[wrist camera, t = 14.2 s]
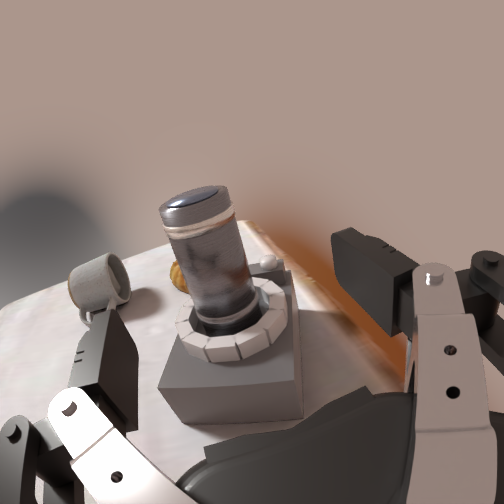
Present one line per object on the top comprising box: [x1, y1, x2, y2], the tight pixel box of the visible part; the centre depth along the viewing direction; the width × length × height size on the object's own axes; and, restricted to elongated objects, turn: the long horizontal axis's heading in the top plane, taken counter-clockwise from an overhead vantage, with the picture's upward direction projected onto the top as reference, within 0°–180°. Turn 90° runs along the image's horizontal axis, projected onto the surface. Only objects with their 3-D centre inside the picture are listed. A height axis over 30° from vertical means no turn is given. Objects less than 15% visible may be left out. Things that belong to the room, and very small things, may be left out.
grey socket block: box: [157, 255, 303, 424], centre depth 27 cm, size 10×14×7 cm
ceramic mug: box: [68, 252, 131, 328], centre depth 42 cm, size 11×8×8 cm
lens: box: [159, 186, 263, 337], centre depth 24 cm, size 5×5×11 cm
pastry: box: [170, 260, 190, 294], centre depth 43 cm, size 9×7×4 cm
